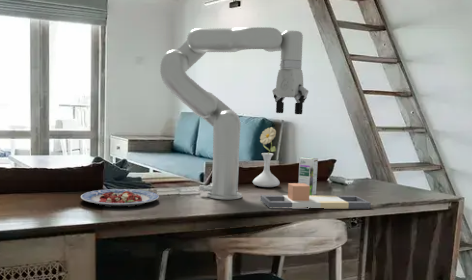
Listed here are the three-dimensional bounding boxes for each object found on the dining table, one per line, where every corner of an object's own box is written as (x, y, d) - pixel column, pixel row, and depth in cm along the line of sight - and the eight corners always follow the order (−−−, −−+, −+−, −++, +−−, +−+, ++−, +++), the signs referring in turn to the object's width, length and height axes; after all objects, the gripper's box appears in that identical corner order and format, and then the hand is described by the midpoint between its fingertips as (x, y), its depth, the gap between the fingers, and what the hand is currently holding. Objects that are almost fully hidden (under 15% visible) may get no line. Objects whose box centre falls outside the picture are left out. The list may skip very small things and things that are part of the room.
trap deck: (268, 208, 176) (269, 202, 176) (260, 200, 189) (260, 195, 189) (370, 208, 182) (370, 202, 182) (355, 201, 195) (355, 195, 195)
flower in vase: (248, 184, 223) (251, 125, 221) (273, 184, 227) (276, 126, 225) (259, 189, 211) (261, 127, 209) (285, 189, 214) (288, 128, 212)
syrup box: (297, 195, 203) (298, 157, 202) (302, 192, 208) (304, 156, 207) (311, 196, 200) (313, 158, 199) (316, 194, 205) (318, 157, 204)
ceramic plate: (77, 196, 186) (77, 187, 186) (150, 194, 195) (150, 186, 195) (84, 212, 162) (84, 202, 162) (166, 208, 171) (166, 199, 171)
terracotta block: (292, 200, 181) (292, 186, 180) (287, 197, 187) (288, 183, 186) (309, 200, 182) (309, 186, 181) (304, 197, 188) (304, 183, 187)
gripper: (267, 65, 194) (265, 112, 196) (300, 64, 181) (298, 114, 182) (281, 67, 199) (280, 112, 200) (315, 66, 185) (313, 114, 187)
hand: (288, 113), depth 191 cm, fingers open, 9 cm apart
